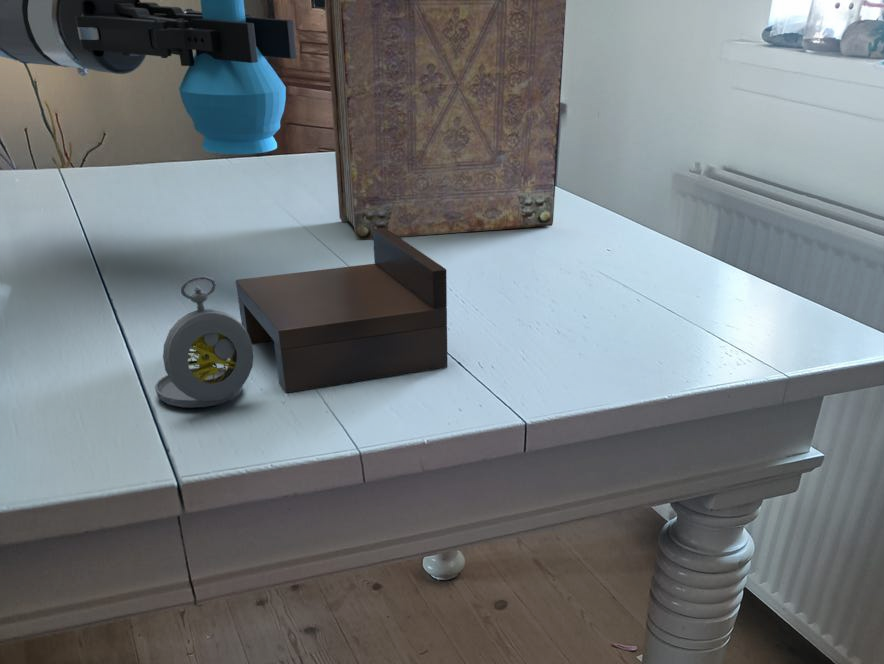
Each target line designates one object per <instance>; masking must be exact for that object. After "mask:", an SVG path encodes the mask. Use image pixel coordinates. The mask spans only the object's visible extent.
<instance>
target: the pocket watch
mask: <svg viewBox="0 0 884 664" xmlns="http://www.w3.org/2000/svg"><path fill="white" fill-rule="evenodd" d="M198 280H204V281H208V282H210V283H211V285H212V286H211V288H210V289H209V290H208V291H207V292H205V291H203V289H202V287H200V286H196V287H195V288H193V290H194V292H193V293H192V294H190V295H189V294H187V292H186V290H185V289H186V288H187V286H188V285H189V284H190V283H193V282H195V281H198ZM216 287H217V282H216V280H214V278H212V277H210V276H206V275H200V276H199V275H198V276H195V277H191V278H189V279H187V280H186V281H184V282H183V283H182V284H181V286H180V293H181V295H182V296H183V297H184V298H187V299H190V301H192V302H193V303H195V304H196V306H197V307H196V310H193V311H189V312H187V313H186V314H185V315H183V316H182V317H180V318H179V319H178V320H177V321H176V322H175V323H174V324H173V326H172V327H171V328H170V329H169V331H168V333H167V335H166V338H165V341H164V343H163V351H162V352H163V353H162V360H163V367H164V369H165V372H166V375H164V376H162V377H161V378H160V379H158V380H157V382H156V383H155V385H154V389H155V394H156V396H157V398H158V400H160V401H162V402H163V403H166V404H167V405H168V406H169V405H170V406H174V407H179V408H191V409H192V408H207V407H212V406H217V405H221V404H223V403H226V402H229V401H232V400H233V399H234V398H237V397H238V396H239V395H240V394H241V393H242V391H243V389H244V385H245V383H246V382H247V380H248V378H249V376H250V374H251V371H252V369H253V364H254V358H255V357H254V347H253V343H251V339H250V337H249V335H248V333H247V331H246V330H245V328H244V327H243V325H242V322H240V321H239V320H238V319H237V318H236V317H234V316H233V315H231V314H230V313H228V312H226V311H223V310H220V309H215V308H206V307H205V302H206V301H208V299H209V296H210V295H212V294H213V293H214V292H215V290H216V289H217V288H216ZM191 354H192V355H191ZM193 358H194V359H195V360H193ZM217 364H218V365H222V366H223V367H218V365H217ZM190 366H193V367H191V368H190ZM226 367H227V368H226Z"/></svg>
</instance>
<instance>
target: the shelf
mask: <svg viewBox="0 0 884 664" xmlns="http://www.w3.org/2000/svg"><path fill="white" fill-rule="evenodd" d="M372 241H373V257H374V258H373V259H374V263H369V264H359V265H351V266H342V267H341V266H340V267H334V268H325V269H317V270H308V271H307V270H306V271H299V272H291V273H282V274H273V275H265V276H256V277H255V276H254V277H247V278H239V279H235V287H236V294H237V300H238V301H237V302H238V307H239V314H240V315H239V316H240V321H241V322H240V323H241V324H242V325H243V327H244V328H245V330H246V331H247V333H248V335H249V337H250V339H251V343H252V344H256V343H262V342H272V341H273V342H274V351H275V360H276V368H277V377H278V383H279V384H278V385H280V387H281V388H282V390H283V391H284V392H285V393H286V394H288V393H294V392H300V391H306V390H312V389H317V388H318V389H319V388H320V389H321V388H325V387H332V386H337V385H344V384H351V383H357V382H362V381H369V380H375V379H381V378H386V377H387V378H388V377H394V376H400V375H405V374H412V373H418V372H424V371H429V370H436V369H442V368H443V369H444V368H448V308H447V307H448V305H447V304H448V296H447V295H448V291H447V289H448V283H447V277H448V276H447V268H445V267H444V266H443V265H441V264H439V263H438V262H437V261H435V260H433V259H432V258H430V256H427V255H426V254H424V253H423V252H422V251H420V250H419V249H417V248H416V247H414V246H413V245H411V243H408V242H407V241H405V240H403V239H402V238H401V237H398V236H396V235H395V234H393V233H392V232H390V231H389V230H387V229H386V228H376V229H373V239H372Z"/></svg>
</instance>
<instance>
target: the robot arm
mask: <svg viewBox="0 0 884 664" xmlns="http://www.w3.org/2000/svg"><path fill="white" fill-rule="evenodd" d="M245 19H246V22H233V21H221V20H209V19H203V16H202V11H200V10H195V9H194V10H193V9H192V8H186V9H184V10H183V9H182V8H181V7H179V6H167V5H166V6H165V5H164V6H163V5H159V4H158V3H157V2H153V1H152V2H151V1H141V0H0V57H2V58H6V59H10V60H13V61H17V62H18V63H21V64H33V65H41V66H42V65H43V66H55V67H63V68H76V69H77V70H76V71H77V74H78V76H81V77H86V76H88V75H89V70H90V71H95V72H101V73H108V74H114V75H115V74H116V75H126V74H130V73H133V72H134V71H136V70H137V69H138V68H139V67H140V66H141V65H142V64H143V63H144V61H145V59H146V56H154V57H160V58H161V59H168V58H169V57H172V55H175V56H179V59H180V66H181V67H189V66H193V65H194V52H193V51H195V53H196V56H198V55H200V54H208V55H210V56H212V57H213V58H214V59H219V60H228V61H237V62H247V63H256V62H258V58H257V49H256V46H257V48H258V49H259V51H260V52H261V54H262V55H263V56H264V57H270V58H278V59H279V58H280V59H289V60H290V59H291V60H292V59H297V48H296V38H295V26H294V20H293V19H281V18H269V17H268V18H267V17H255V15H251V14H250V13H245Z"/></svg>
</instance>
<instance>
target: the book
mask: <svg viewBox="0 0 884 664" xmlns="http://www.w3.org/2000/svg"><path fill="white" fill-rule="evenodd" d="M324 10H325V23H326V25H325V26H326V38H327V52H328V53H327V55H328V67H329V83H330V96H331V111H332V125H333V127H332V128H333V141H334V155H335V157H334V158H335V172H336V184H337V197H338V198H337V200H338V213H339V219H340V221H341V222H342V223H348V222H349V223H350V224H351V225H352V226H353V229H354V237H355V238H356V239H357V240H360V241H361V240H362V241H363V240H373V229H376V228H386V229H387V230H389V231H390V232H392V233H393V234H395V235H396V236H398V237H399V238H401V237H414V236H426V235H427V236H430V235H442V234H455V233H468V232H482V231H497V230H509V229H510V230H511V229H521V228H522V229H524V228H537V227H551V226H553V223H554V212H555V199H556V198H555V197H556V181H557V180H556V179H557V165H558V163H557V162H558V149H559V148H558V147H559V131H560V129H559V128H560V114H561V113H560V111H561V97H562V96H561V95H562V94H561V93H562V78H563V64H564V63H563V60H564V45H565V44H564V43H565V27H566V14H567V13H566V11H567V0H324Z"/></svg>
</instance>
